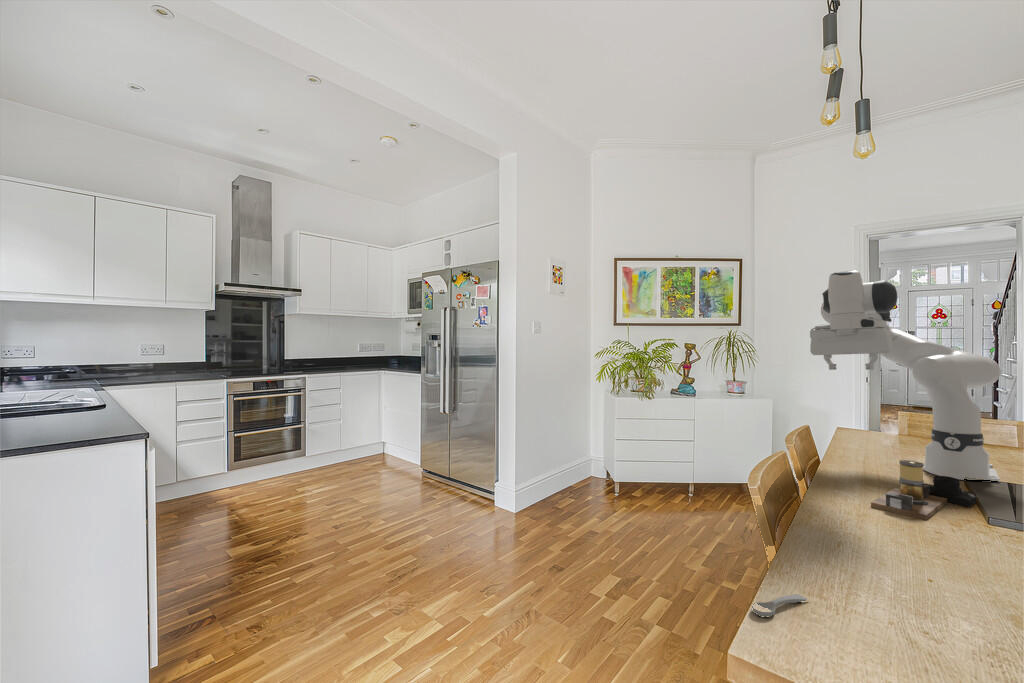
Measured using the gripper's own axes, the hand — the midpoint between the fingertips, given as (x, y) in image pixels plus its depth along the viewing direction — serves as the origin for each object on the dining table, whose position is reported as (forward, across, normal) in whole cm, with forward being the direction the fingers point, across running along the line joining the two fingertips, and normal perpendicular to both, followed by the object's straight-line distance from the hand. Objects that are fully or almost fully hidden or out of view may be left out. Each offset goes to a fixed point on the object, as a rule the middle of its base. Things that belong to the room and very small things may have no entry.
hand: (850, 369), depth 136 cm
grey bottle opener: (+37, +16, -82) cm, 92 cm away
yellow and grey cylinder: (+34, +14, -6) cm, 37 cm away
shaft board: (+36, +13, -6) cm, 39 cm away
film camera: (+36, +17, +8) cm, 41 cm away
